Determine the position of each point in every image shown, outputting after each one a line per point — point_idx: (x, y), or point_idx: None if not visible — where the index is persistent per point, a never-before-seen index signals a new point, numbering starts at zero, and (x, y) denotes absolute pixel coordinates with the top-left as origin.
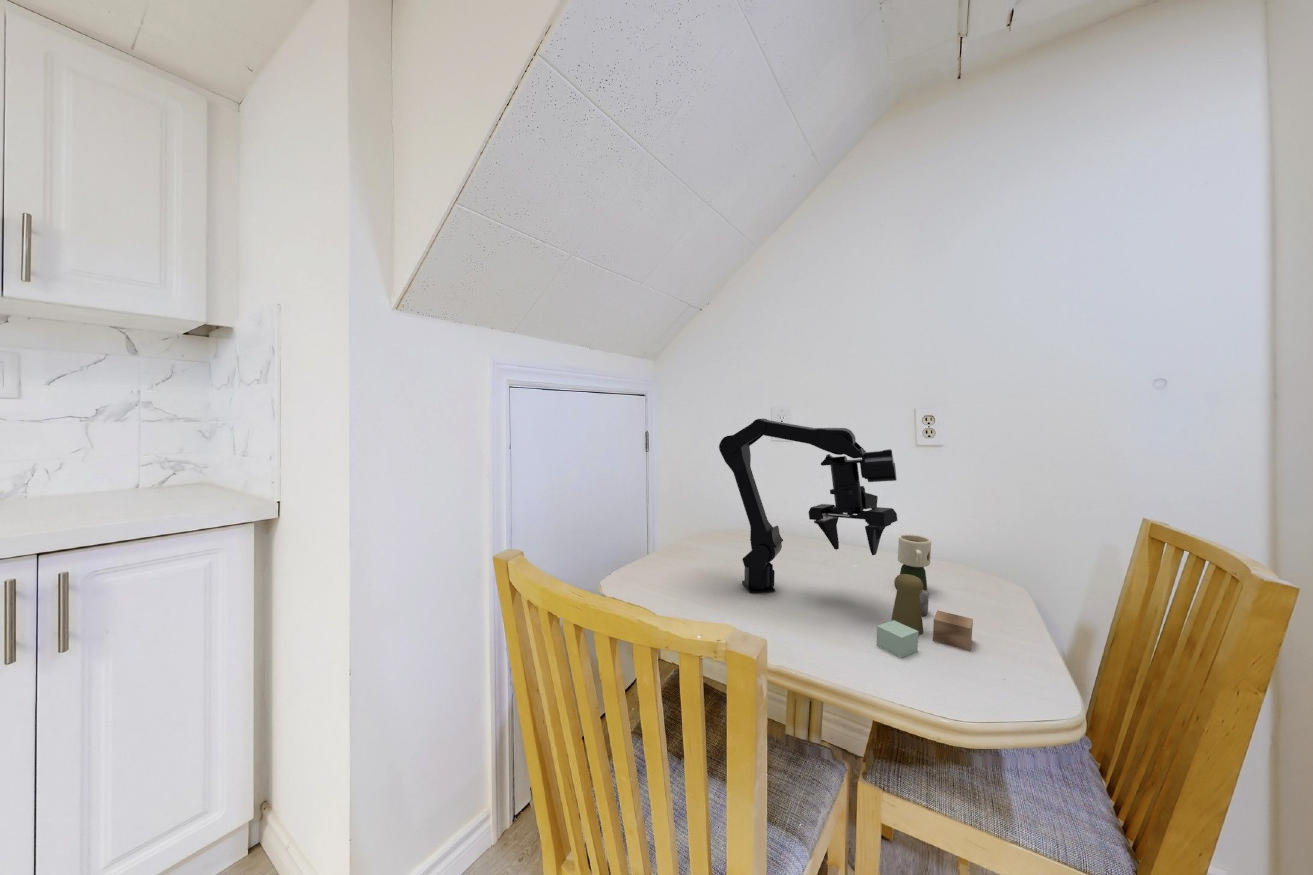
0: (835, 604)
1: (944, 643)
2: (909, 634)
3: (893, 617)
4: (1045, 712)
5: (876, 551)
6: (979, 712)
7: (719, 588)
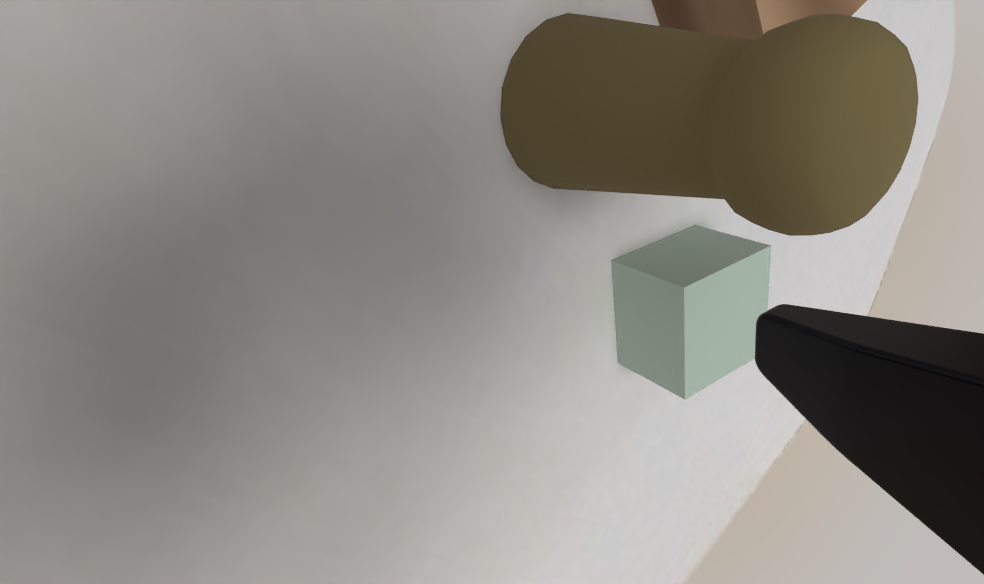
0: (181, 352)
1: None
2: (766, 304)
3: (582, 186)
4: (927, 121)
5: (822, 321)
6: (863, 284)
7: None
